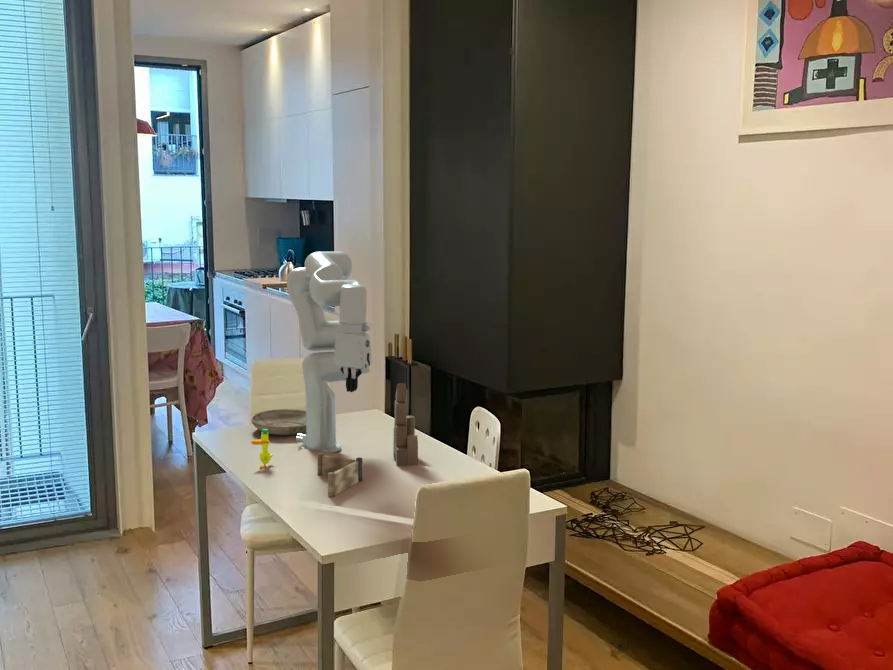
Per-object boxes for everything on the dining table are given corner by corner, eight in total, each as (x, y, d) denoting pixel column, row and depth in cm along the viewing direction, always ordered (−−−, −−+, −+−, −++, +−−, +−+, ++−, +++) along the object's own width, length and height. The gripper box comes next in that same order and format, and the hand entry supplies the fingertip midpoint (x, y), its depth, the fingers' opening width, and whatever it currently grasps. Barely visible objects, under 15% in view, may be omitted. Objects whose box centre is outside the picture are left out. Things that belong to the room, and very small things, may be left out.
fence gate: (354, 481, 248) (354, 459, 247) (359, 482, 247) (359, 460, 246) (326, 496, 235) (326, 473, 234) (332, 497, 234) (332, 474, 233)
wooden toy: (418, 469, 263) (420, 388, 259) (396, 470, 263) (397, 388, 258) (413, 454, 279) (414, 377, 274) (392, 454, 278) (393, 377, 274)
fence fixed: (316, 475, 253) (316, 453, 252) (319, 473, 254) (319, 451, 253) (360, 482, 247) (360, 459, 246) (363, 480, 249) (363, 457, 248)
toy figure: (250, 470, 260) (250, 431, 258) (251, 466, 263) (250, 427, 261) (274, 469, 261) (273, 430, 259) (274, 465, 264) (273, 427, 262)
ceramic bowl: (259, 443, 287) (259, 428, 286) (245, 425, 309) (245, 411, 308) (327, 436, 296) (327, 422, 296) (309, 419, 318) (309, 406, 317)
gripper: (382, 328, 247) (380, 391, 251) (336, 323, 253) (335, 384, 257) (370, 333, 240) (368, 397, 244) (322, 327, 246) (322, 390, 250)
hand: (351, 390), depth 250 cm, fingers closed
